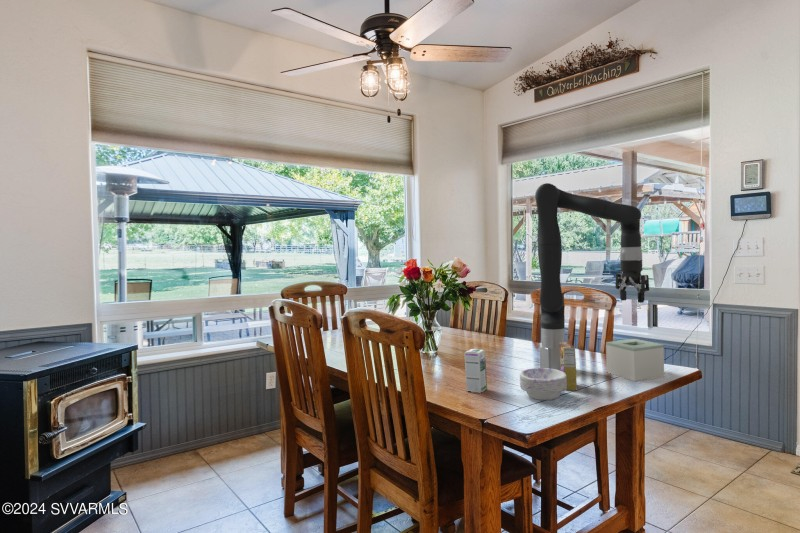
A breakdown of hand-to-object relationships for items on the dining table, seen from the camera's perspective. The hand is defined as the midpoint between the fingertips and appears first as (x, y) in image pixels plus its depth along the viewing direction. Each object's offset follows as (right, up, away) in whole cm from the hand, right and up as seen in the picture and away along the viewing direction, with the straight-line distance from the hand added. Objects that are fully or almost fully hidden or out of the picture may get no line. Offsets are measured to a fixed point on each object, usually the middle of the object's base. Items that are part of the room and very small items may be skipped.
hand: (632, 301), depth 185 cm
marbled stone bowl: (-40, -31, -21) cm, 55 cm away
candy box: (-28, -30, -11) cm, 43 cm away
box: (+1, -28, +1) cm, 28 cm away
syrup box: (-61, -31, -11) cm, 70 cm away
